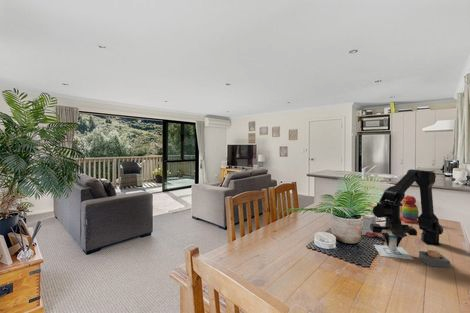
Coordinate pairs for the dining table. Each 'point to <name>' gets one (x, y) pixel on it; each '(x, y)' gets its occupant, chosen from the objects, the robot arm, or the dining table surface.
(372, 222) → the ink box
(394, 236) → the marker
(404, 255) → the paper sheet
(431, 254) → the button
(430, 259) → the button housing
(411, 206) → the stacking bear
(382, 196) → the robot arm
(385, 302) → the dining table surface
